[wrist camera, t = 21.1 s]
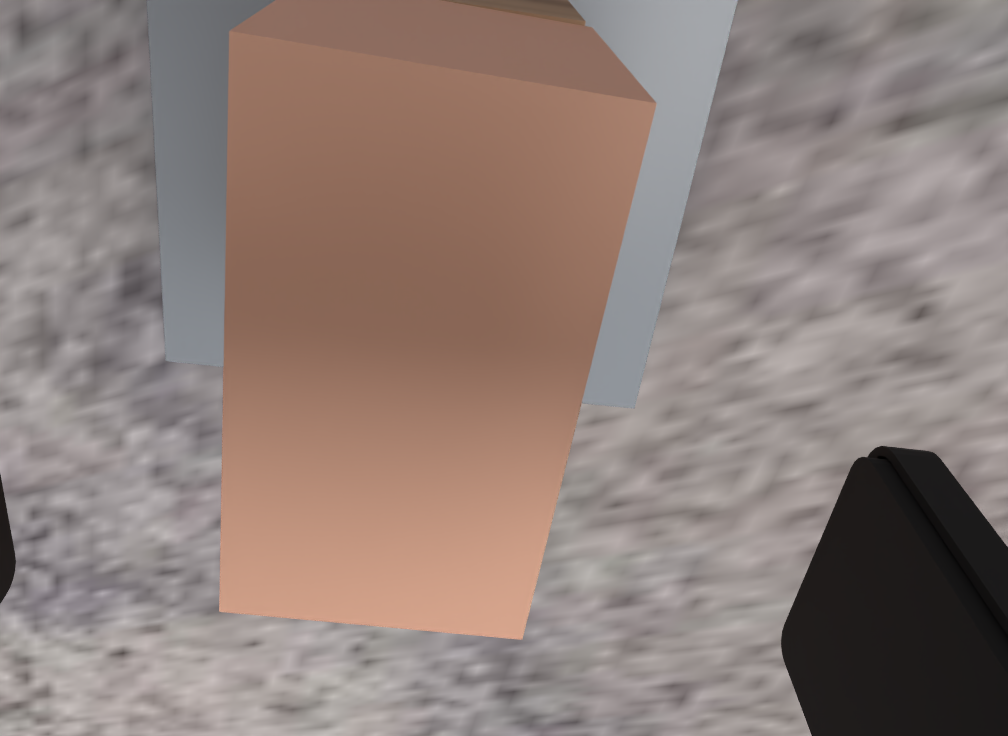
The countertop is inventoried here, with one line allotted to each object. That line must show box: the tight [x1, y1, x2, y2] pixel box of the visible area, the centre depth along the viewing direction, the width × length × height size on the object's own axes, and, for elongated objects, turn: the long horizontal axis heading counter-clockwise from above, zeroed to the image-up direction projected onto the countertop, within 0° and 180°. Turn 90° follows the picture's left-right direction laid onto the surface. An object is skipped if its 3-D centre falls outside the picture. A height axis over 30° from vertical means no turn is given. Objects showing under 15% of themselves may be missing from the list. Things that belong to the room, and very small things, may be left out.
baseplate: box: [147, 0, 738, 408], centre depth 23 cm, size 14×14×1 cm
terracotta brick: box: [219, 0, 657, 640], centre depth 15 cm, size 9×5×6 cm, turn 170°
